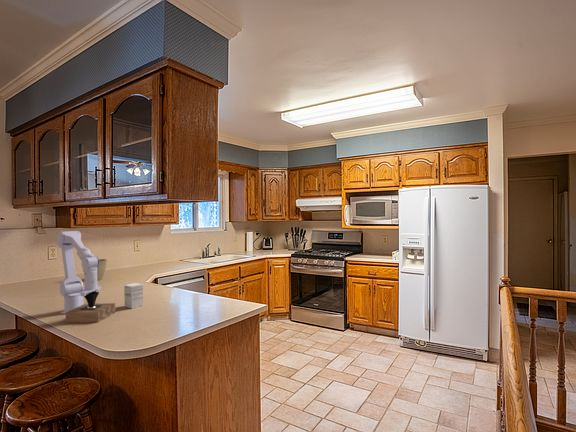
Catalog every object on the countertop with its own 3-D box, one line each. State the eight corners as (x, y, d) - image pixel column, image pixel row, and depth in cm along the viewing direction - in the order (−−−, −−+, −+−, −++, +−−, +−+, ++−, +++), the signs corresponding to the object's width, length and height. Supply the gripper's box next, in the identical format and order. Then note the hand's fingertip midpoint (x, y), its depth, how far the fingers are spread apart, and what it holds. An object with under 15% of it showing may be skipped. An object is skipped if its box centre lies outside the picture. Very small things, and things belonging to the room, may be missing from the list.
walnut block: (85, 312, 178) (85, 302, 178) (115, 312, 178) (115, 302, 178) (65, 322, 162) (65, 311, 162) (98, 322, 162) (98, 311, 162)
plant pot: (92, 278, 276) (91, 259, 276) (110, 277, 277) (110, 258, 277) (82, 282, 261) (81, 262, 261) (101, 281, 262) (101, 261, 262)
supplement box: (124, 307, 188) (123, 284, 188) (136, 304, 195) (135, 282, 194) (131, 309, 184) (131, 286, 184) (143, 305, 191) (143, 283, 190)
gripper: (90, 283, 163) (91, 310, 163) (106, 277, 177) (107, 302, 178) (76, 283, 163) (76, 311, 163) (93, 277, 177) (93, 303, 178)
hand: (91, 306), depth 170 cm, fingers closed, pressing on steel peg
